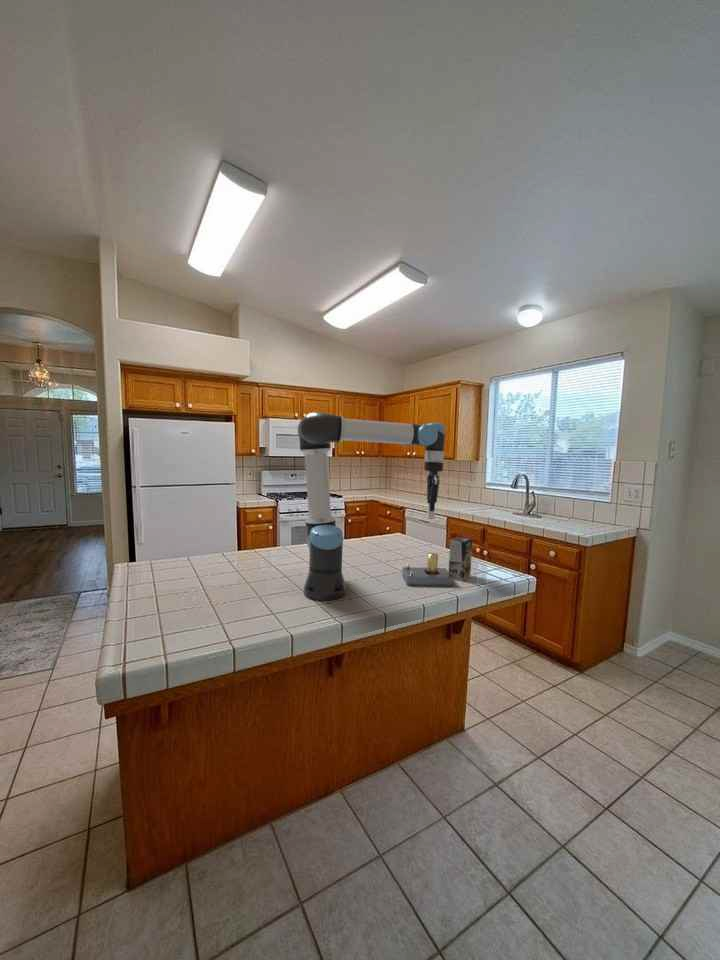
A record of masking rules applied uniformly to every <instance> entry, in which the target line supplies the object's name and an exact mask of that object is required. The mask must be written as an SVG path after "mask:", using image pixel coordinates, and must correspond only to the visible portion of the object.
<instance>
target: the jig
mask: <svg viewBox="0 0 720 960" xmlns="http://www.w3.org/2000/svg"><path fill="white" fill-rule="evenodd" d="M401 572H402V573H401V574H402V577H403V580H404V583H405V584H406V586H414V587H415V586H416V587H417V586H419V587H423V586H424V587H454V579H453V576H452V575H451V574H450V573H449V570H448V569H447V568H446V567H437V574H427V567H415V566H413V567H410V564H408V563H407V564H406V566H405V567H404V566H403V567H402V571H401Z"/></svg>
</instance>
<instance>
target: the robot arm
mask: <svg viewBox="0 0 720 960" xmlns="http://www.w3.org/2000/svg"><path fill="white" fill-rule="evenodd" d="M297 434H298V439H299V450H300V452H302V454H303V455H304V463H305V465H304V467H305V479H306V490H307V491H306V493H307V505H308V508H307V509H308V517H307V518H306V519H305V543H306V545H307V546H308V547H307V548H308V550H309V567H308V568H309V570H308V574H307V577H306V579H305V583H304V585H303V595H304V596H305V597H306V598H308V599H313V600H315V601H334V600H338V599H341V598H343V597H345V596H346V594H347V585H346V582H345V579H344V575H343V548H344V547H343V545H344V544H343V543H344V535H343V531H342V528H340V527H338V526H337V523H336V518H335V516H333V515H332V509H331V508H332V506H331V493H330V479H329V477H330V476H329V464H328V463H329V462H328V453H329V451H331V448H332V447H331V443H333V444H334V443H336V444H339V443H341V442H342V441H347V442H350V441H351V442H365V443H382V444H394V445H395V444H398V445H400V446H405V447H406V446H409V447H411V446H412V447H417V446H418V447H425V449H424V465H423V466H424V471H425V472H428V475H427V477H426V500H427V514H426V517H427V518H426V519H428V520H435V518H436V517H435V514H436V513H435V512H436V503H437V502H438V495H439V494H438V493H439V484H440V477H439V476H438V475H439V472H443V471H444V462H443V461H444V457H445V456H446V453H445V443H446V442H445V440H446V426H445V424H443V423H442V422H441V423H439V422H430V423H427V424H425V423H423V424H414V423H403V422H391V421H390V422H389V421H378V420H377V421H376V420H366V419H365V420H364V419H356V418H355V419H354V418H344V416H343V415H339V414H331V413H326V412H320V411H319V412H318V411H312V412H310V413H308V414H306V415H304V417H302V418H301V419H300V421H299V423H298V426H297Z"/></svg>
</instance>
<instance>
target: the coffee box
mask: <svg viewBox="0 0 720 960" xmlns="http://www.w3.org/2000/svg"><path fill="white" fill-rule="evenodd" d="M449 542H450V544H449V558H448V572H449V573H450V574H451V575H452V576H453V580H456V581H460V582H463V581H464V580H466V579H468V578H469V577H471V572H472V571H471V569H472V568H471V567H472V552H473V550H472V547H473V538H469V537H461V536H457V537H456V538H451V539H450V540H449Z"/></svg>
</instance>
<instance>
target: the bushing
mask: <svg viewBox="0 0 720 960" xmlns="http://www.w3.org/2000/svg"><path fill="white" fill-rule="evenodd" d="M438 558H439V554H438V553H437V552H427V559H426V560H427V562H426V568H427V574H437V568H438V563H439V562H438V560H439V559H438Z"/></svg>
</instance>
